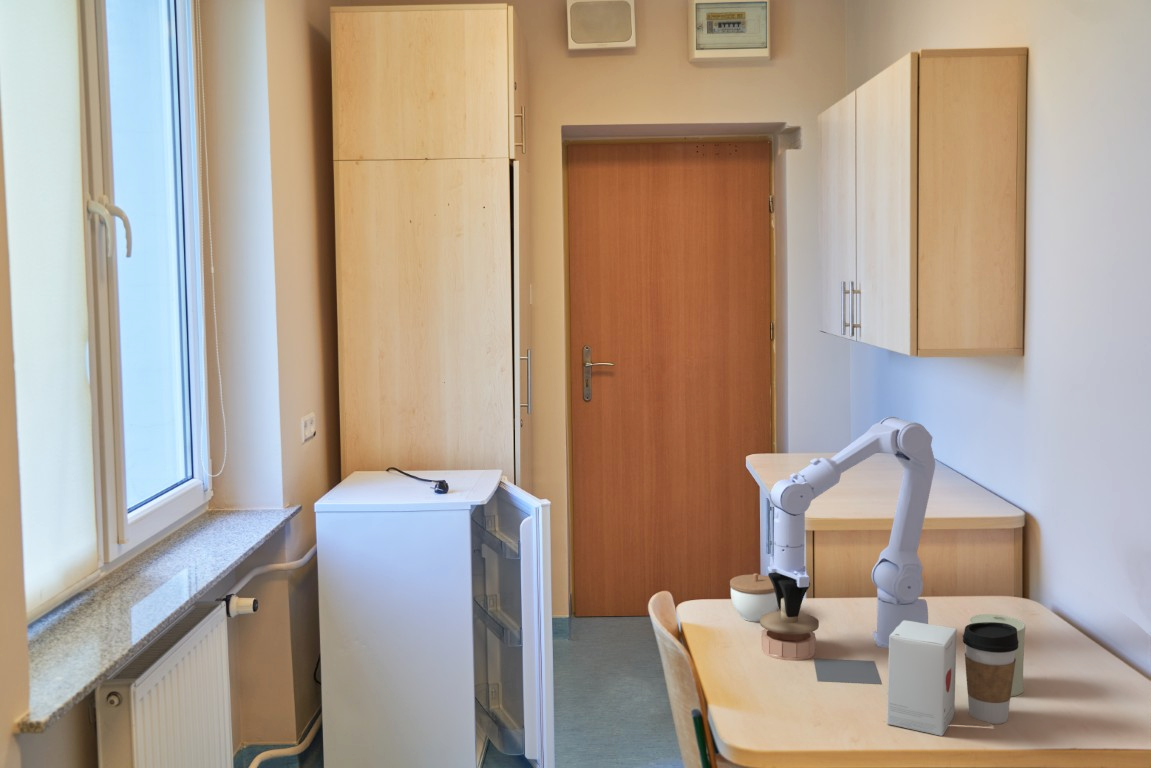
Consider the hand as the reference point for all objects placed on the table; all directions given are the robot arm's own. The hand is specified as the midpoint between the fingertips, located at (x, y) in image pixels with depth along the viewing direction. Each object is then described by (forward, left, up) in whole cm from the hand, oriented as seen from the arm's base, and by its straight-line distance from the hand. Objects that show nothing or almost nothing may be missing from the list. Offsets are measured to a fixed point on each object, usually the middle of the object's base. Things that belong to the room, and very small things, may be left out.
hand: (788, 613), depth 198 cm
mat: (-10, +9, -8) cm, 16 cm away
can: (-35, +12, -8) cm, 38 cm away
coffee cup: (-31, +25, -8) cm, 41 cm away
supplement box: (-20, +28, -8) cm, 35 cm away
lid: (0, 0, -2) cm, 2 cm away
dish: (0, 0, -8) cm, 8 cm away
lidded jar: (+6, -20, -8) cm, 22 cm away
